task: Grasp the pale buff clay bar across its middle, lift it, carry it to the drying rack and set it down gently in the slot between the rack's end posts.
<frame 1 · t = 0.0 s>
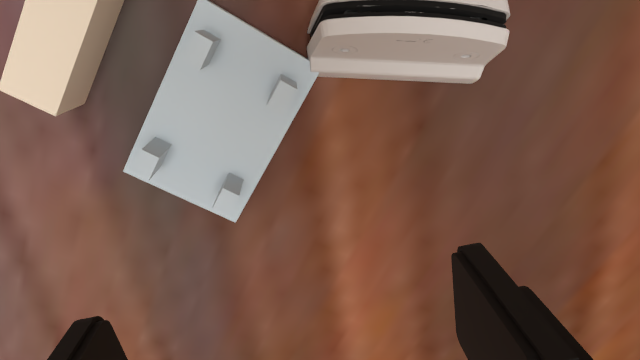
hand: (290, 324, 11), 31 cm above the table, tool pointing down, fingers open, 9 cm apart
rack: (221, 117, 40), on the table
clay bar: (90, 11, 36), on the table
white rounded boxy piece: (395, 37, 39), on the table, touching rack
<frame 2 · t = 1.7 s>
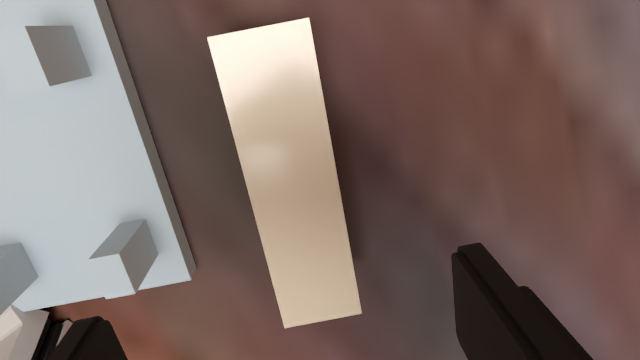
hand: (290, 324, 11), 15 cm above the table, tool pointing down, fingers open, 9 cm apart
rack: (54, 159, 24), on the table
clay bar: (294, 160, 26), on the table
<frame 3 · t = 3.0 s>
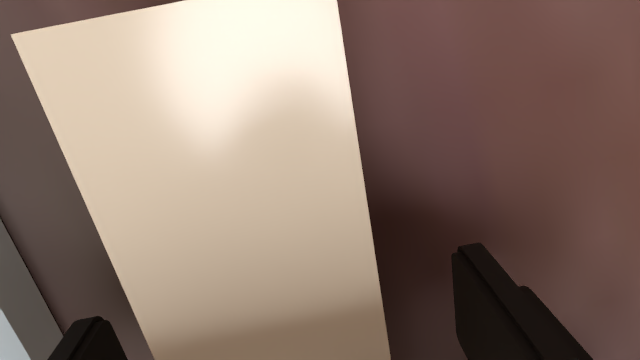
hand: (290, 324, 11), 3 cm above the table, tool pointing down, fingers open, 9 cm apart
clay bar: (289, 263, 14), on the table
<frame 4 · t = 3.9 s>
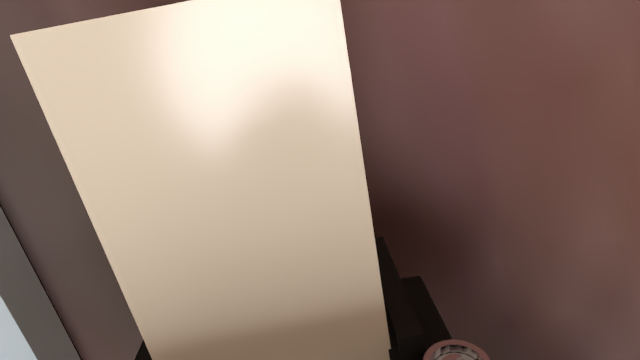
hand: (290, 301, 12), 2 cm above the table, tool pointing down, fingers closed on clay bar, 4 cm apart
clay bar: (290, 266, 14), on the table, touching gripper
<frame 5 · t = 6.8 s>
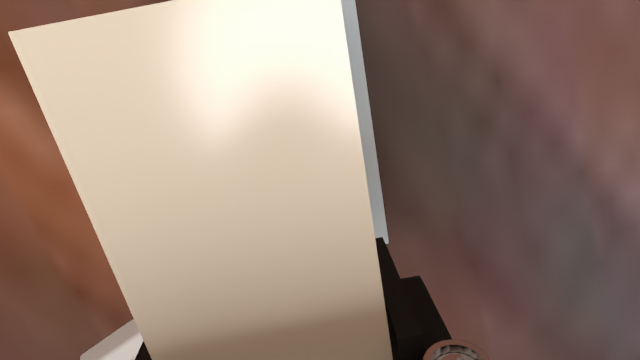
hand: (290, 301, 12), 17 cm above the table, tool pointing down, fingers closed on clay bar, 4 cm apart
rack: (282, 137, 28), on the table
clay bar: (290, 265, 14), point 16 cm above the table, touching gripper
white rounded boxy piece: (187, 331, 34), on the table, touching rack
when the fingers open (4 cm above the table, at t = 10.1 s): clay bar stays where it is, resting on rack.
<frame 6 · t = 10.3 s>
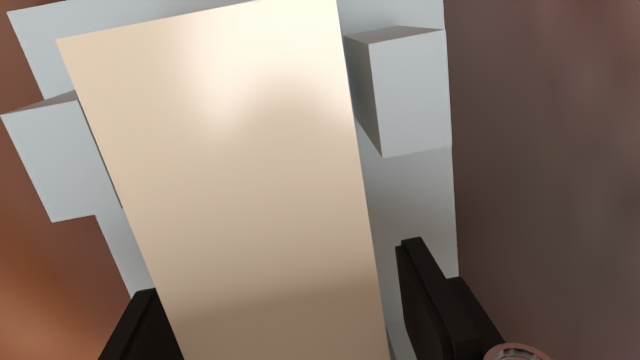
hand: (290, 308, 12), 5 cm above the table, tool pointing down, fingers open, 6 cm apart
rack: (289, 229, 16), on the table
clay bar: (292, 252, 15), point 1 cm above the table, touching rack
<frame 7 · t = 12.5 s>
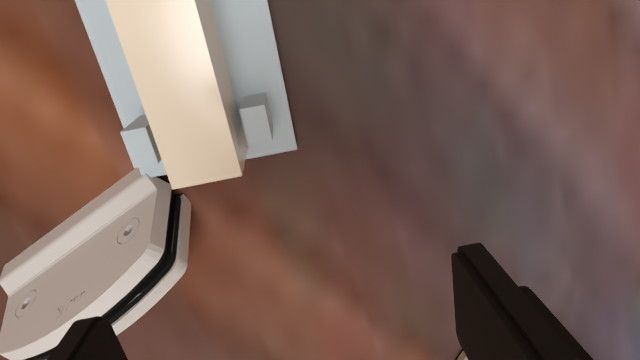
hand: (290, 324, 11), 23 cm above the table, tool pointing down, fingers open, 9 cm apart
rack: (189, 40, 29), on the table
clay bar: (186, 44, 28), point 1 cm above the table, touching rack
white rounded boxy piece: (110, 243, 35), on the table, touching rack
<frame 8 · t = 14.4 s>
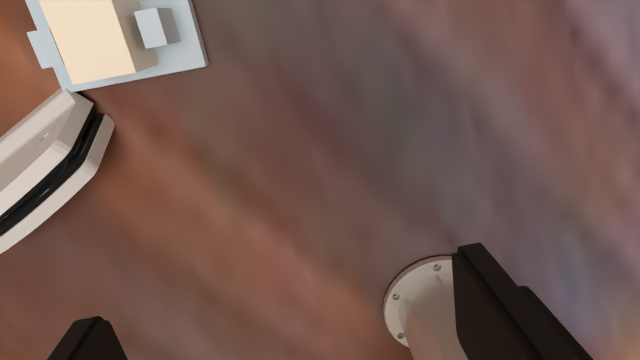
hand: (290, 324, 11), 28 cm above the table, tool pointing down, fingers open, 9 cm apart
white rounded boxy piece: (43, 164, 38), on the table, touching rack
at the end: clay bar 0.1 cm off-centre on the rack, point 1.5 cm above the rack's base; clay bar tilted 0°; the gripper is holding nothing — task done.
